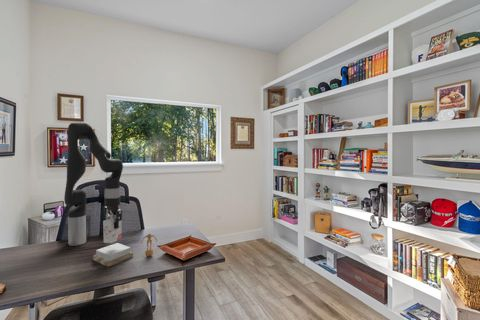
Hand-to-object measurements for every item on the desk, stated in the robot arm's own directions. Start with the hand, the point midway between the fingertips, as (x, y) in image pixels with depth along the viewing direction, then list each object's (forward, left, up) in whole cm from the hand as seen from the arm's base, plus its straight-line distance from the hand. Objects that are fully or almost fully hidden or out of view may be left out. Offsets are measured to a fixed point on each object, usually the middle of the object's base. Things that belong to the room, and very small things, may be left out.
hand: (112, 227), depth 133 cm
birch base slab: (0, 0, -18) cm, 18 cm away
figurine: (+13, +13, -17) cm, 25 cm away
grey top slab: (0, 0, -15) cm, 15 cm away
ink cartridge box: (0, 0, -7) cm, 7 cm away
